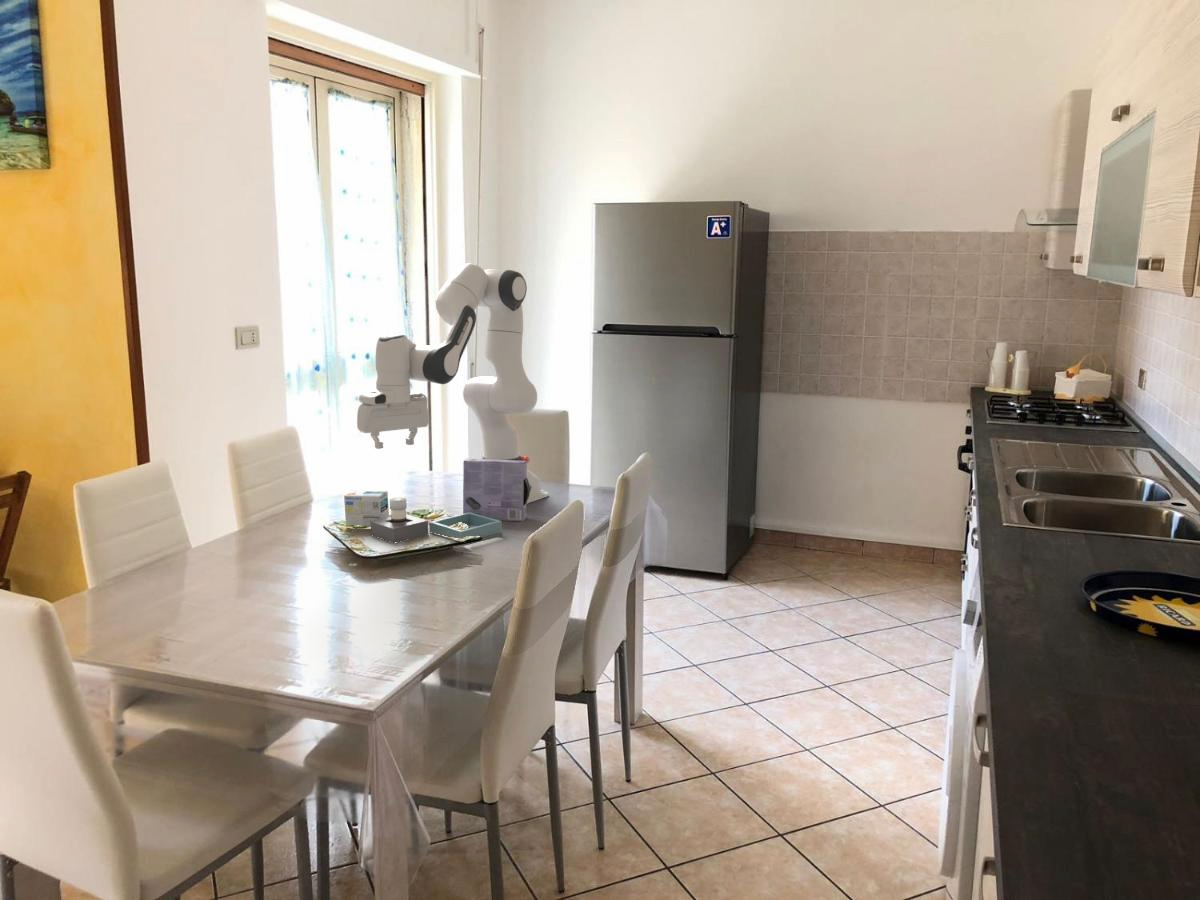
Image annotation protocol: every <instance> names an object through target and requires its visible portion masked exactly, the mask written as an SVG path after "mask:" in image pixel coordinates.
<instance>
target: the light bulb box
mask: <svg viewBox="0 0 1200 900" xmlns="http://www.w3.org/2000/svg"><path fill="white" fill-rule="evenodd" d="M343 500H344V501H343V502H344V514H345V515H344V516H345V526H346V525H361V526H367V527H371V525H370V521H373V520H378V519H382V518H386V517H390V511H389V510H390V506H389V496H388V490H351V491H349V492H348V493H346V494H345V495H344V497H343Z"/></svg>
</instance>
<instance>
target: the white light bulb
mask: <svg viewBox="0 0 1200 900" xmlns="http://www.w3.org/2000/svg"><path fill="white" fill-rule="evenodd" d="M407 507H408V506H407V498H406V497H402V496H401V497H400V496H399V497H393V498H390V499H389V510H390V517H391V522H392V524H395V525H398V524H402V523H406V522H407V517H406V514H407Z"/></svg>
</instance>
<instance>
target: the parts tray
mask: <svg viewBox="0 0 1200 900" xmlns="http://www.w3.org/2000/svg"><path fill="white" fill-rule="evenodd" d="M458 522H462V523H465V524H467V525H468V526H469V527H470V528H469V529H465V530H459V529H456V528H453V527H449V525H453V524H456V523H458ZM428 530H429V533H430V532H432V533H436V534H440V535H444V536H448V537H454V538H463V537H466V536H477V535H478V536H480V537H481V538H484V537H488V536H492V535H495V536H492V537H488V538H485V539H482V540H481V538H480V540H478V541H473V542H471V543H470V542H469V543H467V544H463V545H461V547H465V546H469V545H471V544H475V543H479V542H482V541H486V540H490V539H493V538H498V537H500V536H502V534H503V524H502V521H499V520H495V519H492V518H488V517H485V516H481V515H478V514H474V513H471V512H468V513H464V514H463V513H461V514H456V515H452V516H448V517H444V518H441V519H437V520H433V521H428ZM432 533H431V534H432ZM496 534H500V535H496Z"/></svg>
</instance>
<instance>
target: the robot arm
mask: <svg viewBox="0 0 1200 900" xmlns="http://www.w3.org/2000/svg"><path fill="white" fill-rule="evenodd" d="M447 279H448V280H446V282H445V283H444V284H443V285H442V287H441V288H440V290H439V292H438V293H437V296H436V299H435V309H436V311H437V313H438V314H439V316H440V318H441V319H442V320H443V321H444V322H446V324H448V325H449V326H451V327H450V329H449V331H448V333H447V335H446V338H445V339H444V341H443V342H442V343H440V344H437V345H422V344H418V343H416V342H413V341H412V340H410V339H409V338H408V337H407V335H406V333H403V332H393V333H386V334H383V335H381V336H379V338H378V339H377V340H376V341H377V342H376V348H375V370H376V372H377V377H376V378H377V379H376V383H375V385H376V386H375V388H373V389H371V390H368V391H367V392H363V393H362V394H360V395H359V396H358V401H359V403H361V404H360V405H359V406H358V408H357V416H356V427H357V430H358V431H359V432H360V433H364V434H370V437H371V438H372V440H373V442H374V448H375V449H377V450H380V449H384V442H383V441H381V440H380V438H379V437H380V432H391V431H399V430H401V431H402V430H407V429H408V431H409V435H408V437H406V438H405V444H406V445H407V446H413V445H414V444H415V437H416V435H417V434H418V428H427V427H428V426H429V424H430V416H429V415H430V414H429V409H428V397H427V396H426V395H425V394H423V393H422V392H418V393H411V381H417V382H430V383H434V384H440V385H446V384H448V383H450V382H451V381H452V380H453V379H454V378H455V377H456V375H457V373H458V371H459V367H460V363H461V359H462V357H463V355H464V352H465V350H466V347H467V346H468V342H469V340H470V338H471V336H472V334H473V331H474V328H475V326H476V323H477V313H476V309H477V307H484V308H485V307H486V308H488V310H489V315H488V319H487V325H486V334H485V335H486V338H485V349H484V351H485V352H484V354H485V357H486V359H487V360H488V361H489V363H491V364H492V365H493V367H494V369H495V373H496V376H488V375H487V376H486V375H483V376H477V377H472V378H470V379H468V380H467V381H466V383H465V384H464V387H463V391H462V393H463V394H462V395H463V400H464V403H465V404H466V405H467V406H468V407H469V408H470V410H471V411H472V412H473V413H474V415H475V417H476V419H477V421H478V424H479V426H480V429H481V430H480V431H481V434H482V446H483V447H482V448H483V449H482V451H483V456H482V458H481V459H494V460H516V461H527V464H528V463H529V462H530V459H531V458H530V457H529V456H525V455H522V456H521V455H520V451H519V450H520V442H519V441H520V439H519V436H520V435H519V431H518V429H517V428H516V427H515V426H514V425H513V424H512V423H511V422H510V421H509V419H508V417H507V415H522V414H528V413H530V412H532V411H533V409H534V408H535V407H536V404H537V402H538V393H537V388H536V387H535V385H534V383H533V382H532V381H530V379H529V378H528V377H527V374H526V372H525V368H524V365H523V359H522V355H523V352H522V351H523V349H522V348H523V337H524V334H523V333H524V315H523V314H524V313H523V311H524V310H523V306H522V303H523V302H524V300H525V298H526V296H527V282H526V279H525V278H524V276H523V274H522V273H521V272H518V271H515V270H511V269H507V270H505V269H497V268H494V269H493V268H490V269H483V268H482V267H481V266H480V265H477V264H475V263H465V264H463V265H461V266H460V267H459V268H457V270H456V271H454V272H453V274H452V275H451V276H450V277H449V278H447ZM527 479H528V482H529V486H530V494H529V498H528V500H527V503H526V505H528V504H530V503H533V502H536V501H538V500H541V499H543V498H544V499H545V498H548V497H549V493H548V492H547V491H546V490H543V489H541V481H540V478H539V477H538V476H537V475H536V474H534V473H533V472H532V471H530V470H529V469H527Z"/></svg>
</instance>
